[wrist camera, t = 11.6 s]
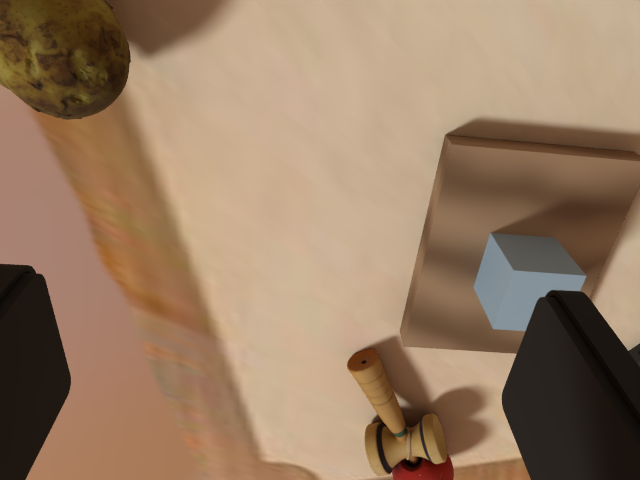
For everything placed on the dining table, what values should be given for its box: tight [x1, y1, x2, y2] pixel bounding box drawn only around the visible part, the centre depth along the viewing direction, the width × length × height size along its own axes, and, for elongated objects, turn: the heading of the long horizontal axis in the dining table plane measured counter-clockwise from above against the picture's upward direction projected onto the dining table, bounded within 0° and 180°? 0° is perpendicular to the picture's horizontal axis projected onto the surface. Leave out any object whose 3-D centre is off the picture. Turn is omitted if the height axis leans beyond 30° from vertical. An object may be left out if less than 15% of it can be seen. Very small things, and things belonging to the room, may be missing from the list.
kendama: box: [347, 349, 454, 480], centre depth 49 cm, size 8×6×18 cm
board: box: [400, 135, 640, 354], centre depth 40 cm, size 18×14×2 cm
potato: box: [0, 0, 131, 119], centre depth 28 cm, size 8×13×8 cm, turn 34°
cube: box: [473, 233, 586, 331], centre depth 37 cm, size 5×5×5 cm
